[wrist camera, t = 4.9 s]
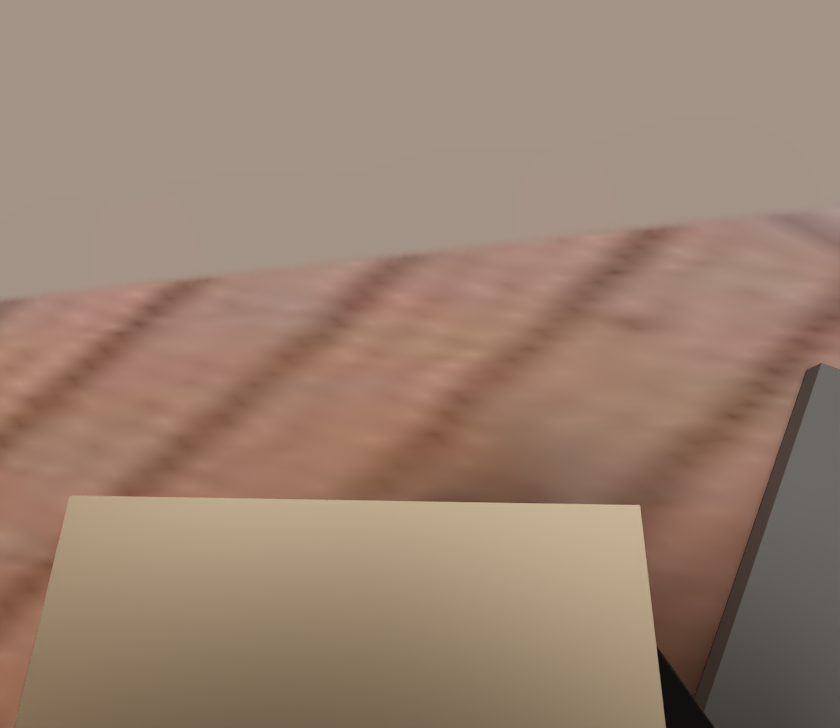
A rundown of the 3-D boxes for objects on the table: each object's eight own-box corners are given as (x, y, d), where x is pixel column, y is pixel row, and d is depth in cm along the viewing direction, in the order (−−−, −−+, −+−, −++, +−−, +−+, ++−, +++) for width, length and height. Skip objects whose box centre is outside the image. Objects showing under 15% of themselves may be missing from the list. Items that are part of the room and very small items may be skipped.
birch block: (559, 691, 14) (793, 1801, 2) (397, 675, 15) (-134, 1339, 3) (549, 514, 16) (639, 505, 3) (402, 511, 17) (69, 495, 4)
